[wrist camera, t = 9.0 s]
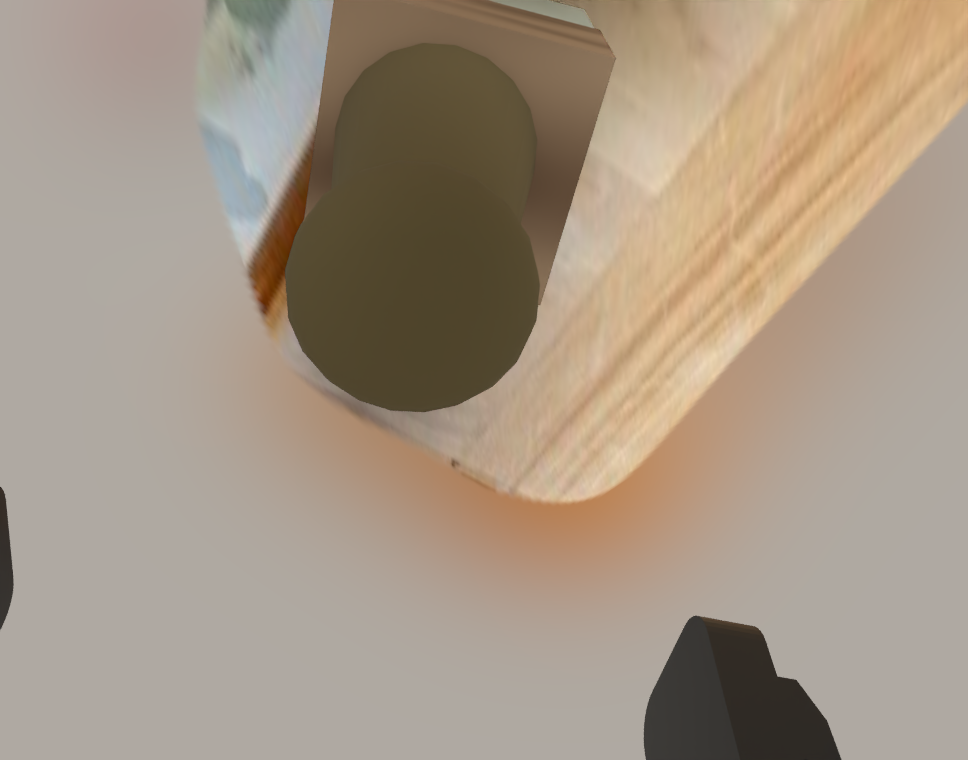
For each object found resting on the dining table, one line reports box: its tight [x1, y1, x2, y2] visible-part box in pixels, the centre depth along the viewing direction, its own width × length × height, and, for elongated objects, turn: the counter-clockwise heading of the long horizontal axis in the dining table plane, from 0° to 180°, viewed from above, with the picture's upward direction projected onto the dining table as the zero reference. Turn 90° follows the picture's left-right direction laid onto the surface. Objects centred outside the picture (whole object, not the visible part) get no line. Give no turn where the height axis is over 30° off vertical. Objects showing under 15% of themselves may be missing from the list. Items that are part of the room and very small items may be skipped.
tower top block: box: [304, 0, 615, 305], centre depth 28 cm, size 8×8×5 cm
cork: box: [285, 43, 540, 412], centre depth 21 cm, size 6×6×11 cm
